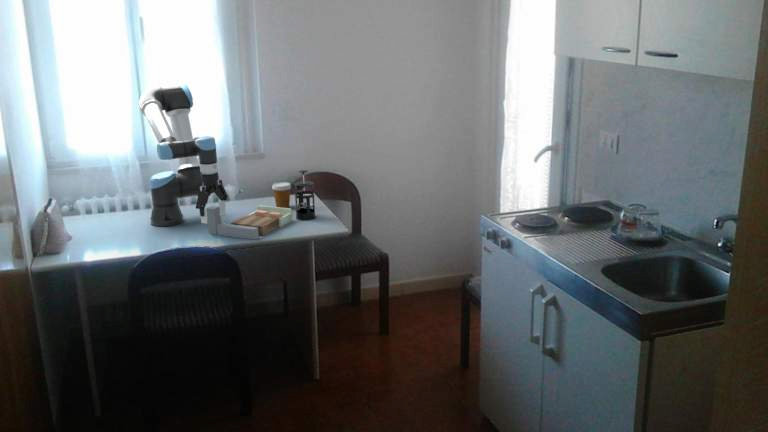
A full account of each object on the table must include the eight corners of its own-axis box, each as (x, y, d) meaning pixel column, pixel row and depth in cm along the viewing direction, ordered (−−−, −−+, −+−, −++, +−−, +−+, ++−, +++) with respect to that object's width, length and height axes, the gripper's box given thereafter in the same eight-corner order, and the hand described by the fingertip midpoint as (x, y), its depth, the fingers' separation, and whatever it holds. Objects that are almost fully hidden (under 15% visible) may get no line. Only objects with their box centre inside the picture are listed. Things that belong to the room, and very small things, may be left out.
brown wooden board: (231, 231, 324) (230, 222, 322) (247, 223, 335) (246, 214, 334) (263, 235, 317) (262, 226, 316) (278, 226, 328) (278, 218, 327)
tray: (248, 223, 335) (247, 210, 333) (259, 217, 344) (259, 205, 342) (281, 227, 328) (280, 214, 326) (292, 220, 337) (291, 208, 335)
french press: (319, 219, 339) (316, 171, 332) (300, 222, 335) (297, 174, 328) (310, 212, 349) (307, 166, 342) (291, 215, 345) (289, 169, 338)
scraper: (208, 233, 321) (206, 208, 317) (214, 231, 324) (211, 205, 321) (254, 239, 312) (252, 213, 308) (259, 236, 315) (257, 210, 312)
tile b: (268, 213, 329) (272, 211, 332) (269, 223, 331) (273, 222, 334) (278, 214, 328) (281, 212, 330) (279, 225, 329) (282, 223, 332)
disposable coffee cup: (291, 210, 354) (289, 186, 350) (271, 210, 354) (270, 187, 351) (293, 204, 363) (292, 181, 360) (274, 205, 363) (273, 182, 360)
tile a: (255, 211, 333) (258, 209, 335) (255, 221, 334) (259, 220, 337) (264, 212, 331) (267, 211, 333) (264, 223, 332) (268, 221, 335)
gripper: (198, 179, 301) (203, 227, 307) (233, 166, 323) (236, 211, 329) (184, 178, 304) (189, 225, 310) (219, 165, 326) (223, 210, 332)
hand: (213, 218), depth 320 cm, fingers open, 13 cm apart
